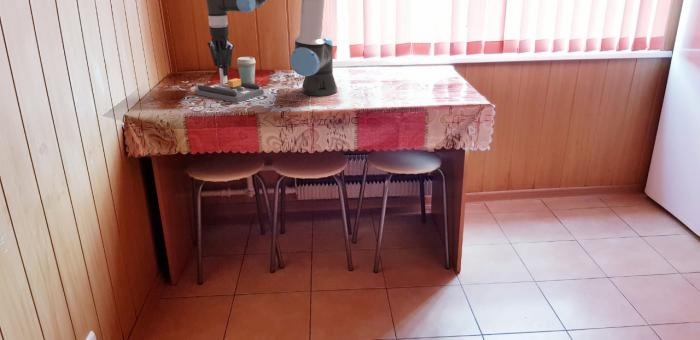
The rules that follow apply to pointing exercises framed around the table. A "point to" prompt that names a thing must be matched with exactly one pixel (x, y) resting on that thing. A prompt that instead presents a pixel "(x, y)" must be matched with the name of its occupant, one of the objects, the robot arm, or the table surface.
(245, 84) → the pair of grey bars
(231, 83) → the lever
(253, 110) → the table surface
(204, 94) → the slide switch panel
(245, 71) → the coffee cup
